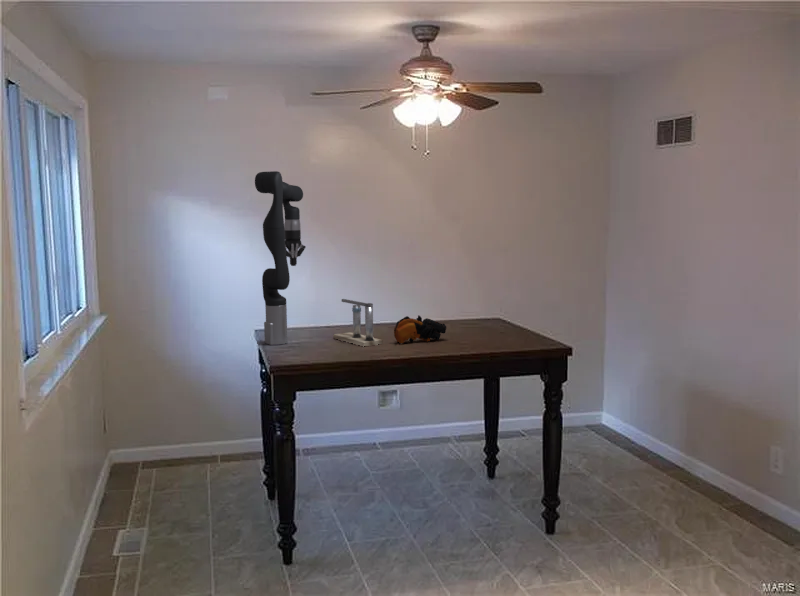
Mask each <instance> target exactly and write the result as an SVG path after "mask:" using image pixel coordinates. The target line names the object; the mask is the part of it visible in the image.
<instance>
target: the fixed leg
mask: <svg viewBox="0 0 800 596" xmlns="http://www.w3.org/2000/svg"><path fill="white" fill-rule="evenodd" d="M341 302H342V303H346V304H352V305H360V307H364V313H365V314H364V323H365V324H364V325H365V331H364V333H365V334H364V335H365V337H366V341H373V338H374V307H373V306H374V304H373V303H371V302H363V301H361V302H360V301H356V300H352V299H347V298H346V299H345V298H342V299H341Z"/></svg>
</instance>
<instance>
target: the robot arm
mask: <svg viewBox="0 0 800 596" xmlns="http://www.w3.org/2000/svg"><path fill="white" fill-rule="evenodd" d="M254 185H255V186H254V187H255V189H256V190H257V192H259V193H261V194H271V195H273V196H272V203H271V206H270V209H269V211H267V214H266V216H265V218H264V220H263V222H262V235H263V241H264V242H265V245H266V247H267V249H268V250H269V252H270V254H271V255H272V258H273V260H274V267H275V268H266V269H265V270H264V271H263V273H262V280H261V281H262V282H261V283H262V294H263V295H262V296H263V300H264V303H265V305H264V306H265V307H264V308H265V321H264V323H263V326H264V328H263V329H264V333H263V334H264V344H267V345H268V346H274V345H277V346H278V345H285V343H286V344H287V343H288V315H287V312H288V309H287V298H286V297H285V296H284V295H281V294H280V292H279V291H278V290H280V291H283V290H286V289H288V288H289V285H290V280H291V279H290V270H289V265H291V266H292V267H296V266H297V260H298V259H297V258H298V257H301V256H302V254H303V252H304V250H305V249H306V245H304V244H302V240H301V239H302V238H301V237H302V236H301V234H302V232H301V229H302V228H301V220H300V218H301V217H300V215H301V214H300V208H299V207H298V206H293V205H291V203H293V202H295V203H296V202H300V201H302V199H303V198H304V191H303V189H302V188H301V187H300V186H298V185H295V184H292V185H291V184H289V183H287V182H284V180H283V177H282V173H281V172H280V171H277V170H273V171H271V170H270V171H261V172H258V173H257V174H256V175H255V177H254ZM290 202H291V203H290ZM288 258H289V264H288Z"/></svg>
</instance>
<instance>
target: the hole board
mask: <svg viewBox="0 0 800 596" xmlns="http://www.w3.org/2000/svg"><path fill="white" fill-rule="evenodd" d="M333 338H335V339H334V340H336V339H338V340H337V341H339V340H342V341H341V342H343V341H346V342H345V343H347V342H349V343H348V344H350V343H353V344H352V345H354V344H356V345H355V346H358V345H360V346H359V347H361V346H363V347H362V348H365V347H364V346H369V347H372V346H371V345H375V346H379V345H378V344H382V345H384V343H383V342H384V340H383V339H380V338H377V337H376V338H375V337H373V341H366V337H365V334H361V337H353V331H350V332H344V333H343V332H342V333H335V334H333Z"/></svg>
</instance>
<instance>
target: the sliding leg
mask: <svg viewBox="0 0 800 596" xmlns="http://www.w3.org/2000/svg"><path fill="white" fill-rule="evenodd" d="M351 309H352V332H353V337H361V335H362V325H361V324H362V322H361V320H362V319H361V317H362V316H361V314H362V313H361V312H362V306H361V305H356V304H352V308H351Z"/></svg>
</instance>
